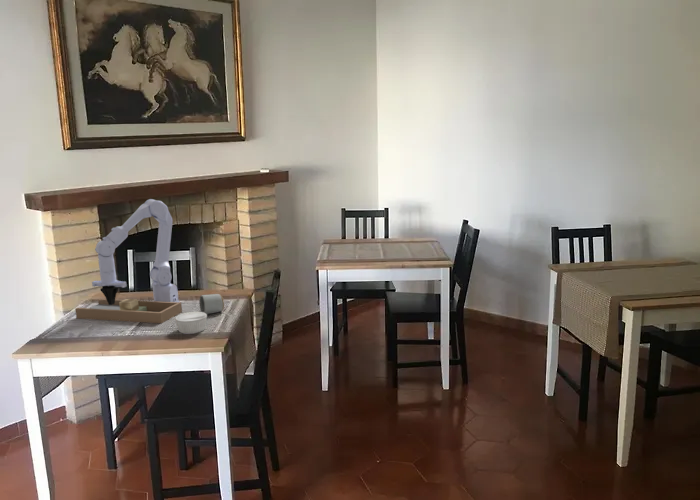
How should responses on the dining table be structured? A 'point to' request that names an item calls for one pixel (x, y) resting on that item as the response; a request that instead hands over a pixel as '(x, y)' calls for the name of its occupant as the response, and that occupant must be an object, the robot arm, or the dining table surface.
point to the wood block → (129, 304)
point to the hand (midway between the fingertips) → (111, 304)
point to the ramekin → (191, 322)
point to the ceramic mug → (211, 303)
